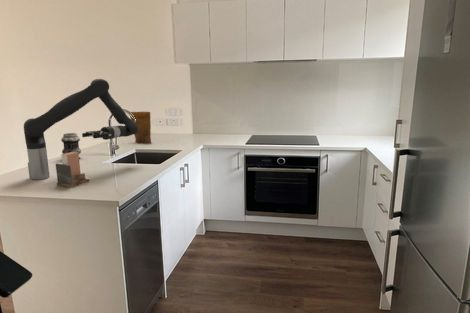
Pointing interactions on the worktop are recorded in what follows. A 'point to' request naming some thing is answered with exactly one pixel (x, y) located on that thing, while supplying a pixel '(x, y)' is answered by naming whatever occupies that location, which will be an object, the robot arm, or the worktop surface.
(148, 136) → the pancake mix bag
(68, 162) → the salmon pink rectangular block
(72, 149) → the dark grey pedestal urn
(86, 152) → the worktop surface
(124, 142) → the worktop surface
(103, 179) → the worktop surface
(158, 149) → the worktop surface
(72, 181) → the rack
